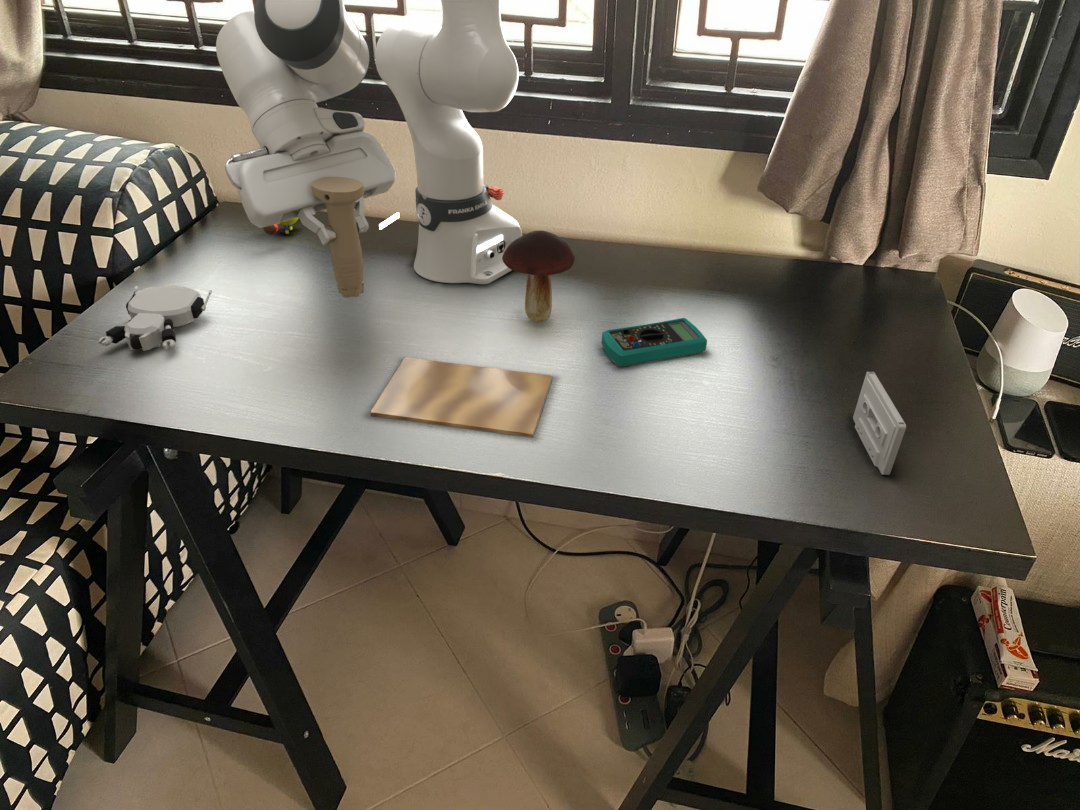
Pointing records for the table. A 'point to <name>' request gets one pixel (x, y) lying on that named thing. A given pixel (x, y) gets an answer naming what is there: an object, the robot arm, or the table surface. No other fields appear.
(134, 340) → the robot toy
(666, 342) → the digital multimeter
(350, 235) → the handle
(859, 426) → the cassette
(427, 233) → the robot arm
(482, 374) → the board
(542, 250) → the decorative mushroom
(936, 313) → the table surface
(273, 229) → the toy figure
